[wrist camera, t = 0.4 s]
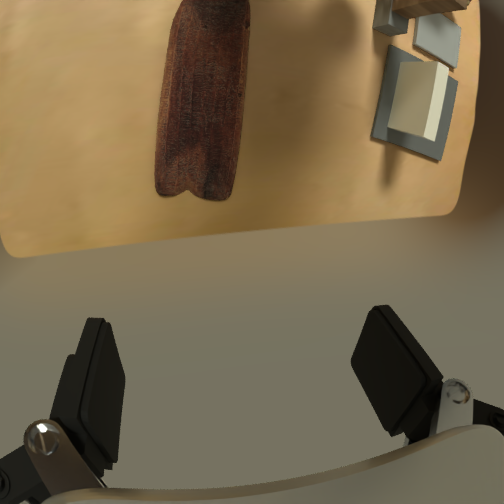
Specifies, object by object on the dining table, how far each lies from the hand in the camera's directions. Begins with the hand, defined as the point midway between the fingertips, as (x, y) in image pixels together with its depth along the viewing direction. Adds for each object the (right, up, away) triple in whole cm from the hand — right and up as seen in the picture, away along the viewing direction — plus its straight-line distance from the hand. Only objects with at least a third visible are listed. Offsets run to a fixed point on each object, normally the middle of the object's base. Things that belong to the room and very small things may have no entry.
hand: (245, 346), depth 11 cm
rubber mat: (+24, +25, +26) cm, 43 cm away
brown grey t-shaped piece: (+18, +36, +19) cm, 45 cm away
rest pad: (+28, +36, +21) cm, 50 cm away
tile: (+21, +25, +25) cm, 41 cm away
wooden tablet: (-6, +22, +23) cm, 32 cm away
